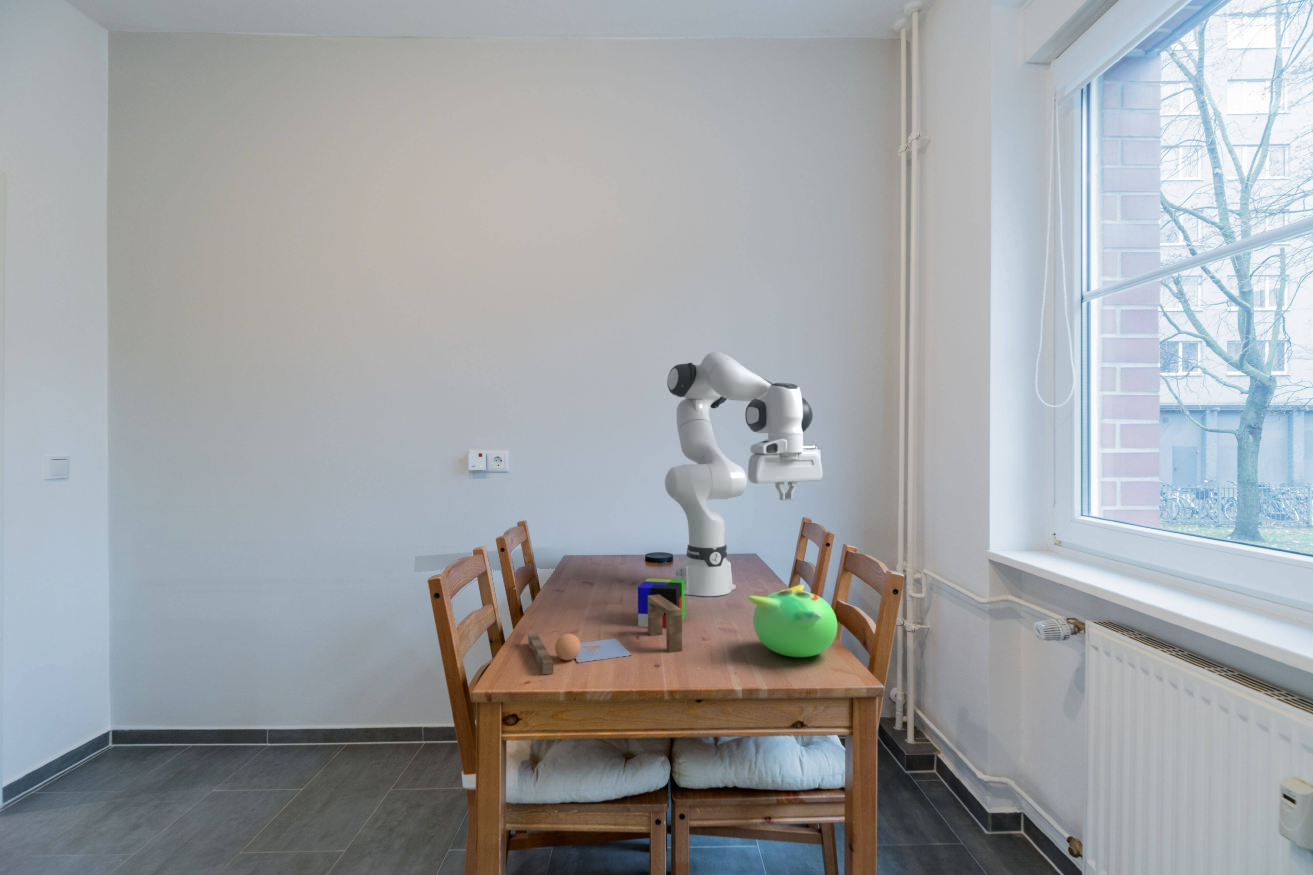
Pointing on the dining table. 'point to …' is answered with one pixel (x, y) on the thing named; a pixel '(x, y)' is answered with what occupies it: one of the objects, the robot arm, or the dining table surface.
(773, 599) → the round green monster toy
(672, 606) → the bridge
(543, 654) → the stopper
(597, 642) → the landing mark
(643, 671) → the dining table surface
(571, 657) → the ball
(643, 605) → the puzzle toy
